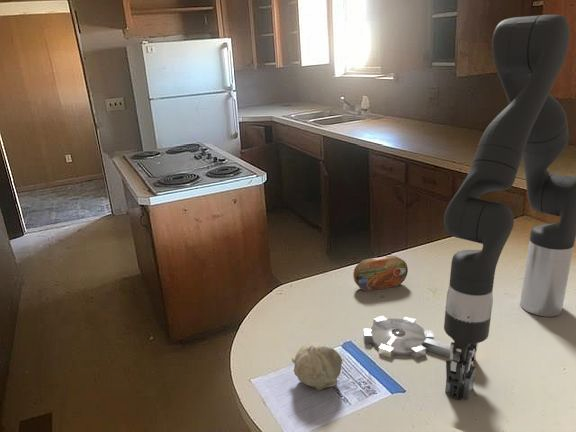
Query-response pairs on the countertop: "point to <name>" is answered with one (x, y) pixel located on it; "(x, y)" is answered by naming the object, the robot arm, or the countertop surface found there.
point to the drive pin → (437, 347)
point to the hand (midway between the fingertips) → (459, 390)
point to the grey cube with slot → (467, 385)
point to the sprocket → (397, 336)
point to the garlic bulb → (317, 365)
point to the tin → (380, 273)
